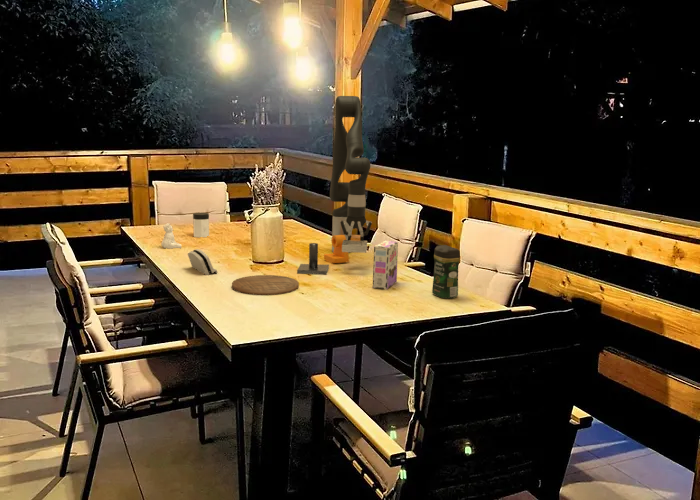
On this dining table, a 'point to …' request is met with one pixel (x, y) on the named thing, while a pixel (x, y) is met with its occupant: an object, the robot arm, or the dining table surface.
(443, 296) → the coffee jar
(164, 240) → the white creature statuette
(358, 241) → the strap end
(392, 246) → the candy box
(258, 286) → the trivet
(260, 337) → the dining table surface
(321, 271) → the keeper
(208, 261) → the beige fin shape
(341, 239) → the bracket
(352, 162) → the robot arm
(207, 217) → the jar
